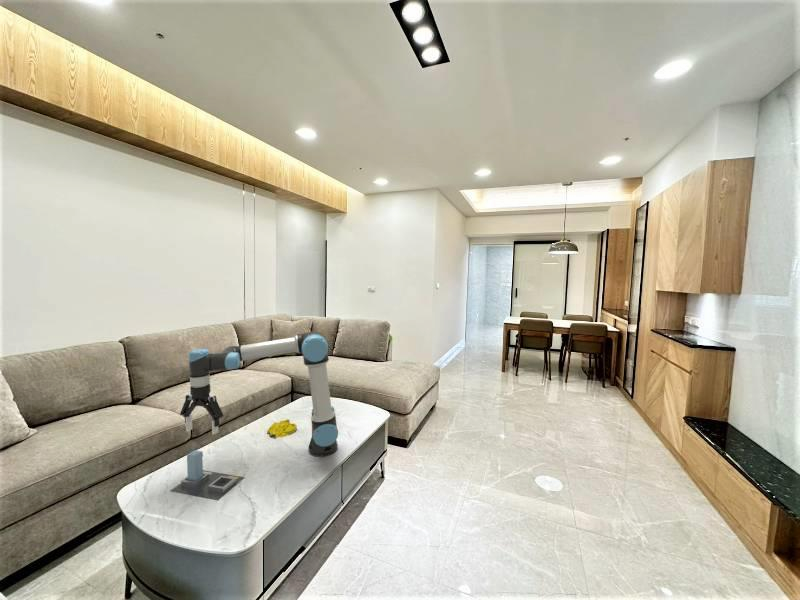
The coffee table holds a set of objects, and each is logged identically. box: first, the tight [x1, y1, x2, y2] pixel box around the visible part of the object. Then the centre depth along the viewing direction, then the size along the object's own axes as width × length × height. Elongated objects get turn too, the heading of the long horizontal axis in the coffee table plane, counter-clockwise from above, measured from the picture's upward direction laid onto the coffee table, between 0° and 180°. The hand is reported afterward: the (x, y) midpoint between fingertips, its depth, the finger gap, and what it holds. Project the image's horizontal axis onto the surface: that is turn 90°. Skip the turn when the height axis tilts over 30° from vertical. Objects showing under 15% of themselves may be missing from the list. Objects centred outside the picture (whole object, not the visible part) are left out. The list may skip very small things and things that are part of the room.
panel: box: [170, 469, 246, 501], centre depth 143 cm, size 24×16×3 cm, turn 77°
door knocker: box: [266, 418, 298, 439], centre depth 196 cm, size 17×16×4 cm
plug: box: [186, 449, 204, 482], centre depth 144 cm, size 4×5×13 cm
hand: (202, 431), depth 145 cm, fingers open, 13 cm apart
